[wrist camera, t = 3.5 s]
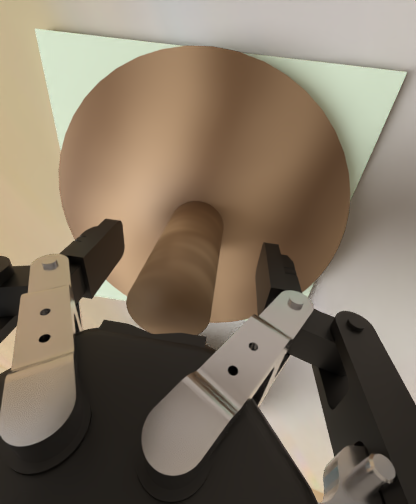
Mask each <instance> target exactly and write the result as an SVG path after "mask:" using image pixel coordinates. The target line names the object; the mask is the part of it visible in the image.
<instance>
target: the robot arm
mask: <svg viewBox="0 0 416 504" xmlns="http://www.w3.org/2000/svg"><path fill="white" fill-rule="evenodd" d="M124 250H125V244H124V233H123V224H122V222H121V221H120V220H113V219H104V220H103V221H102V222H101V223H100V224H99V225H98V226H94V227H92V228H90V229H87V230H85V231H84V232H83V233H82V234H81V235H80V237H78V238H76V239H75V241H73V242H72V243H71V244H70V245H69V246H68V247H66V248H65V249H64V250H63V251H62V252H61V253H60V254H49V255H45V256H42V257H40V258H38V259H36V260H35V261H33V262H32V264H31V266H12V264H11V262H10V260H9V258H7V257H4V256H0V343H1V342H2V341H3V340H4V339H5V338H6V337H7V336H8V335H9V334H10V333H11V331H12V330H13V329H14V328H15V327H16V326H17V330H16V338H15V345H14V353H13V361H12V368H10V369H8V370H6V371H5V372H3V373H1V374H0V504H416V405H415V403H414V401H413V399H412V397H411V395H410V394H409V392H408V390H407V388H406V386H405V384H404V383H403V381H402V379H401V377H400V375H399V373H398V372H397V370H396V368H395V366H394V364H393V362H392V361H391V359H390V357H389V355H388V353H387V351H386V350H385V348H384V346H383V344H382V342H381V340H380V339H379V337H378V335H377V333H376V331H375V329H374V328H373V326H372V325H371V324H370V323H369V322H368V321H367V320H366V319H365V318H363V317H362V316H360V315H358V314H356V313H353V312H349V311H342V312H339V313H337V315H336V316H335V317H332V316H330V315H327V314H325V313H322V312H320V311H318V310H316V309H314V306H313V303H312V301H311V300H310V299H309V298H308V297H307V296H305V295H304V294H302V290H301V287H300V283H299V280H298V277H297V273H296V270H295V266H294V263H293V261H292V260H291V259H290V258H289V257H288V255H282V254H281V252H280V248H279V245H278V244H273V243H266V242H264V243H263V245H262V249H261V252H260V256H259V260H258V264H257V268H256V275H255V280H256V296H257V312H258V316H257V315H255V314H254V315H252V316H251V317H250V318H249V319H248V320H247V321H246V322H245V323H244V324H243V325H242V326H241V327H240V328H239V329H238V330H237V331H236V332H235V333H234V334H233V335H232V336H231V337H230V338H229V339H228V340H227V341H226V342H225V343H224V344H223V345H222V346H221V347H220V348H219V349H218V350H217V351H216V350H214V349H213V348H211V347H209V346H207V345H205V342H206V337H204V336H198V335H192V334H186V333H164V334H152V333H149V332H147V331H144V330H142V329H139V328H137V327H135V326H132V325H130V324H126V323H120V322H114V321H108V320H104V321H103V322H102V324H101V326H100V327H99V328H93V329H88V330H84V331H83V324H82V316H81V308H80V303H79V300H80V299H81V298H82V297H85V298H91V299H92V298H93V297H94V295H95V294H96V293H97V291H98V290H99V288H100V287H101V286H102V284H103V283H104V282H105V280H106V279H107V277H108V276H109V275H110V273H111V272H112V271H113V269H114V268H115V266H116V265H117V264H118V262H119V261H120V259H121V258H122V256H123V254H124ZM291 355H293V356H295V357H297V358H299V359H301V360H303V361H306V362H308V363H310V364H312V368H313V372H314V376H315V380H316V384H317V388H318V392H319V396H320V401H321V405H322V409H323V413H324V417H325V421H326V425H327V429H328V433H329V437H330V441H331V445H332V449H333V453H334V458H333V459H332V460H331V461H330V462H329V463H328V464H327V465H326V467H325V469H324V474H323V482H324V497H323V501H322V503H317V500H316V498H315V496H314V494H313V492H312V490H311V488H310V486H309V484H308V483H307V481H306V479H305V478H304V476H303V475H302V473H301V472H300V470H299V469H298V467H297V466H296V464H295V463H294V461H293V459H292V458H291V456H290V455H289V453H288V452H287V450H286V449H285V447H284V446H283V444H282V443H281V441H280V439H279V438H278V436H277V435H276V433H275V432H274V430H273V429H272V427H271V426H270V424H269V423H268V421H267V419H266V418H265V416H264V415H263V413H262V412H261V410H260V409H259V406H260V405H261V403H262V401H263V400H264V398H265V396H266V395H267V393H268V391H269V389H270V387H271V386H272V384H273V382H274V381H275V379H276V378H277V376H278V375H279V373H280V372H281V370H282V369H283V367H284V366H285V364H286V363H287V361H288V360H289V358H290V357H291Z"/></svg>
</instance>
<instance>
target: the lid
mask: <svg viewBox="0 0 416 504" xmlns="http://www.w3.org/2000/svg"><path fill="white" fill-rule="evenodd" d="M59 190H60V196H61V202H62V207H63V210H64V214H65V217H66V220H67V223H68V225H69V228H70V230H71V232H72V235H73V237H74V239H76V238H78V237H80V235H81V234H82V233H83V232H84V231H85V230H87V229H90V228H92V227H94V226H98V225H99V224H100V223H101V222H102V221H103V220H104V219H113V220H120V221H121V222H122V224H123V233H124V244H125V250H124V254H123V256H122V258H121V259H120V261H119V262H118V264H117V265H116V266H115V268H114V269H113V271H112V272H111V273H110V275H109V276H108V277H107V279H106V280H107V281H108V282H109V283H110V284H111V285H112V286H114V287H115V288H116V289H117V290H119V291H120V292H121V293H123V294H124V295H126V296H127V300H126V305H127V309H128V312H129V314H130V316H131V317H132V319H133V320H134V321H135V322H136V323H137V324H138V325H139V326H140V327H142V328H143V329H144V330H146V331H148V332H150V333H152V334H164V333H186V334H192V335H198V334H200V333H201V332H203V331H204V330H205V329H206V327H207V326H208V324H209V322H211V323H219V322H232V321H239V320H245V319H249V318H250V317H251V316H252V315H254V314H255V315H257V316H258V312H257V296H256V280H255V275H256V268H257V264H258V260H259V256H260V252H261V249H262V245H263V243H264V242H266V243H273V244H278V245H279V248H280V252H281V254H282V255H288V257H289V258H290V259H291V260H292V261H293V263H294V266H295V270H296V273H297V277H298V280H299V283H300V287H301V290H302V292H304V291H305V290H306V289H307V288H308V287H310V286H311V285H312V284H313V283H314V281H315V280H316V279H317V278H318V277H319V276H320V275H321V274H322V273H323V271H324V270H325V268H326V267H327V266H328V264H329V263H330V262H331V260H332V258H333V256H334V254H335V253H336V251H337V249H338V247H339V245H340V242H341V239H342V237H343V234H344V232H345V228H346V224H347V219H348V215H349V206H350V181H349V171H348V167H347V163H346V158H345V154H344V151H343V148H342V146H341V143H340V141H339V139H338V136H337V134H336V131H335V129H334V128H333V126H332V125H331V123H330V121H329V120H328V118H327V116H326V115H325V113H324V112H323V110H322V109H321V108H320V106H319V105H318V104H317V103H316V102H315V101H314V100H313V98H312V97H311V96H310V95H309V94H308V93H307V91H305V90H304V89H303V88H302V87H301V86H299V85H298V84H297V83H296V82H295V81H293V80H292V79H291V78H290V77H289V76H287V75H286V74H284V73H283V72H281V71H279V70H278V69H276V68H274V67H273V66H271V65H269V64H267V63H266V62H264V61H262V60H259V59H256V58H254V57H251V56H249V55H246V54H243V53H241V52H238V51H233V50H228V49H223V48H218V47H213V46H181V47H174V48H167V49H161V50H158V51H155V52H151V53H148V54H145V55H142V56H139V57H137V58H135V59H133V60H131V61H129V62H127V63H125V64H124V65H122V66H120V67H118V68H116V69H115V70H114V71H112V72H111V73H110V74H109V75H107V76H106V77H105V78H103V79H102V80H101V81H100V82H99V83H98V84H97V85H96V86H95V87H94V88H93V89H92V90H91V91H90V92H89V94H88V95H87V96H86V97H85V98H84V100H83V101H82V103H81V104H80V106H79V107H78V109H77V110H76V112H75V114H74V115H73V117H72V120H71V122H70V124H69V127H68V129H67V131H66V134H65V137H64V141H63V145H62V149H61V153H60V163H59Z"/></svg>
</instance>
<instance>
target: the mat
mask: <svg viewBox="0 0 416 504" xmlns="http://www.w3.org/2000/svg"><path fill="white" fill-rule="evenodd" d="M35 32H36V37H37V41H38V46H39V51H40V56H41V60H42V65H43V70H44V74H45V79H46V84H47V89H48V93H49V98H50V103H51V107H52V112H53V117H54V121H55V126H56V131H57V136H58V140H59V145H60V150H61V149H62V145H63V141H64V137H65V134H66V131H67V129H68V127H69V124H70V122H71V120H72V117H73V115H74V114H75V112H76V110H77V109H78V107H79V106H80V104H81V103H82V101H83V100H84V98H85V97H86V96H87V95H88V94H89V92H90V91H91V90H92V89H93V88H94V87H95V86H96V85H97V84H98V83H99V82H100V81H101V80H102V79H103V78H105V77H106V76H107V75H109V74H110V73H111V72H112V71H114V70H115V69H116V68H118V67H120V66H122V65H124V64H125V63H127V62H129V61H131V60H133V59H135V58H137V57H139V56H142V55H145V54H148V53H151V52H155V51H158V50H161V49H167V48H174V47H181V46H180V45H171V44H163V43H154V42H145V41H137V40H128V39H120V38H111V37H103V36H94V35H85V34H77V33H68V32H60V31H51V30H42V29H35ZM243 54H246V55H249V56H251V57H254V58H256V59H259V60H262V61H264V62H266V63H267V64H269V65H271V66H273V67H274V68H276V69H278V70H279V71H281V72H283V73H284V74H286V75H287V76H289V77H290V78H291V79H292V80H293V81H295V82H296V83H297V84H298V85H299V86H301V87H302V88H303V89H304V90H305V91H307V93H308V94H309V95H310V96H311V97H312V98H313V100H314V101H315V102H316V103H317V104H318V105H319V106H320V108H321V109H322V110H323V112H324V113H325V115H326V116H327V118H328V120H329V121H330V123H331V125H332V126H333V128H334V129H335V131H336V134H337V136H338V139H339V141H340V143H341V146H342V148H343V151H344V154H345V158H346V163H347V167H348V171H349V181H350V201H351V198H352V196H353V194H354V192H355V189H356V187H357V185H358V183H359V180H360V178H361V176H362V173H363V171H364V169H365V167H366V164H367V162H368V160H369V158H370V155H371V153H372V151H373V149H374V146H375V144H376V142H377V140H378V137H379V135H380V133H381V131H382V128H383V126H384V124H385V121H386V119H387V117H388V115H389V112H390V110H391V108H392V106H393V103H394V101H395V99H396V97H397V94H398V92H399V90H400V88H401V85H402V83H403V81H404V78H405V76H406V74H407V72H403V71H394V70H386V69H377V68H369V67H360V66H352V65H343V64H334V63H326V62H317V61H309V60H300V59H291V58H283V57H274V56H266V55H257V54H248V53H243ZM314 282H315V281H314ZM313 284H314V283H313ZM313 284H312V285H311V286H310V287H308V288H307V289H306V290H305V291H304V292H302V294H304V295H305V296H307V297H308V296H309V293H310V291H311V289H312V287H313ZM94 296H98V297H104V298H110V299H117V300H123V301H126V300H127V296H126V295H124V294H123V293H121V292H120V291H119V290H117V289H116V288H115V287H114V286H112V285H111V284H110V283H109V282H108V281H107V280H105V282H104V283H103V284H102V286H101V287H100V288H99V290H98V291H97V293H96V294H95V295H94ZM245 320H246V321H247V320H248V319H245Z"/></svg>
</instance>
